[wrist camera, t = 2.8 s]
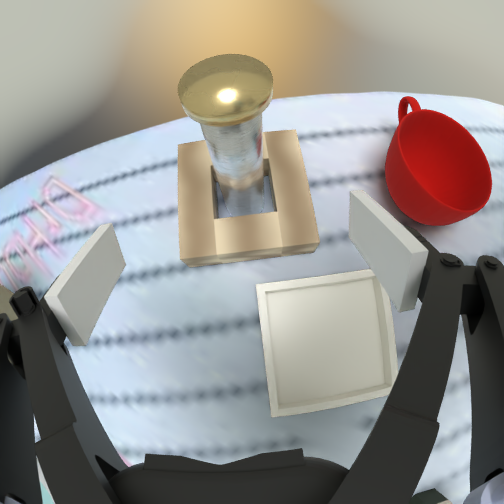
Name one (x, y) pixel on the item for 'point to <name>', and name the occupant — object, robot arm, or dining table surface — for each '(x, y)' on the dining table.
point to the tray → (326, 341)
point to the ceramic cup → (435, 167)
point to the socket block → (247, 226)
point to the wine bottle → (429, 498)
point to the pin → (231, 123)
